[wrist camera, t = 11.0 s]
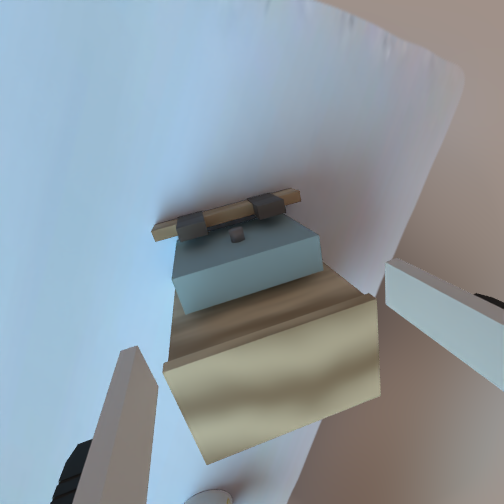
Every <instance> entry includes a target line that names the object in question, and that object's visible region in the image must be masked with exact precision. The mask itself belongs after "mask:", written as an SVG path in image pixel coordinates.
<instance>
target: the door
mask: <svg viewBox="0 0 504 504" xmlns="http://www.w3.org/2000/svg"><path fill="white" fill-rule="evenodd" d="M208 234H209V235H205V236H202V237H198V238H195V239H191V240H187V241H184V242H180V240H178V241H177V243H176V250H175V258H174V265H173V273H172V282H173V284H174V287H175V289H176V292H177V294H178V297H179V300H180V302H181V305H182V307H183V310H184V312H185V315H186V314H189V313H193V312H196V311H199V310H202V309H205V308H208V307H211V306H214V305H217V304H221V303H224V302H227V301H230V300H233V299H236V298H239V297H242V296H245V295H249V294H252V293H255V292H258V291H261V290H264V289H267V288H270V287H273V286H277V285H280V284H283V283H286V282H289V281H292V280H295V279H298V278H301V277H305V276H308V275H311V274H314V273H317V272H320V271H323V263H322V255H321V247H320V239H319V235H318V234H316V233H315V232H313V231H311V230H310V229H308V228H306V227H305V226H303V225H301V224H300V223H298V222H296V221H295V220H293V219H291V218H290V217H288V216H286V215H285V214H279V215H276V216H272V217H269V218H265V219H262V220H260V219H259V218H256V219H252V220H249V221H245V222H242V223H238V224H234V225H231V226H227V227H224V228H220V229H217V230H213V231H210V232H208Z"/></svg>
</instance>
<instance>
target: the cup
mask: <svg viewBox="0 0 504 504" xmlns="http://www.w3.org/2000/svg"><path fill="white" fill-rule="evenodd" d="M184 504H233V503H232V497H231V495H230V494H229V493H227V492H226V491H223V490H208V491H204V492H201V493H198V494H196V495H194V496H193V497H191V498H190V499H188V500H187V501H186V502H185V503H184Z"/></svg>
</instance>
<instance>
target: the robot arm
mask: <svg viewBox="0 0 504 504" xmlns="http://www.w3.org/2000/svg"><path fill="white" fill-rule="evenodd" d="M385 282H386V283H385V284H386V285H385V286H386V287H385V288H386V305H388V306H389V307H390V308H392V309H393V310H394V311H396V312H397V313H398V314H400V315H401V316H403V317H404V318H405V319H406V320H408V321H409V322H411V323H412V324H413V325H415V326H416V327H417V328H419V329H420V330H421V331H423V332H424V333H425V334H427V335H428V336H430V337H431V338H432V339H434V340H435V341H436V342H438V343H439V344H440V345H442V346H443V347H444V348H446V349H447V350H448V351H450V352H451V353H452V354H454V355H455V356H456V357H458V358H459V359H461V360H462V361H463V362H465V363H466V364H467V365H469V366H470V367H471V368H473V369H474V370H475V371H477V372H478V373H479V374H481V375H482V376H484V377H485V378H486V379H488V380H489V381H490V382H492V383H493V384H494V385H496V386H497V387H498V388H500V389H501V390H503V391H504V303H503V302H501V301H499V300H497V299H495V298H492V297H488V296H485V295H481V294H477V293H476V294H471V293H469V292H467V291H465V290H463V289H461V288H459V287H457V286H454V285H452V284H450V283H448V282H446V281H444V280H442V279H440V278H438V277H436V276H434V275H431V274H430V273H428V272H426V271H423V270H421V269H419V268H417V267H415V266H413V265H411V264H409V263H407V262H405V261H403V260H401V259H399V258H396V259H393V260H390V261H387V262H385ZM157 396H158V385H157V383H156V381H155V379H154V377H153V375H152V373H151V371H150V369H149V367H148V365H147V363H146V361H145V359H144V357H143V355H142V353H141V351H140V349H139V347H138V346H134V347H131V348H128V349H125V350H122V351H120V354H119V358H118V361H117V364H116V367H115V370H114V373H113V376H112V380H111V383H110V386H109V389H108V392H107V395H106V399H105V402H104V405H103V408H102V411H101V414H100V417H99V421H98V424H97V427H96V430H95V433H94V436H93V439H91V440H88V441H85V442H83V443H80V444H78V445H77V447H76V448H75V450H74V451H73V453H72V454H71V456H70V457H69V459H68V460H67V462H66V463H65V466H64V469H63V471H62V474H61V476H60V479H59V485H57V487H56V490H55V492H54V495H53V497H52V498H53V501H52V502H51V503H50V504H146V500H147V491H148V481H149V472H150V462H151V453H152V443H153V434H154V424H155V415H156V405H157Z"/></svg>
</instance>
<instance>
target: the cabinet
mask: <svg viewBox="0 0 504 504" xmlns="http://www.w3.org/2000/svg"><path fill="white" fill-rule="evenodd" d="M300 201H301V197H300V191H298V190H295V189H292V188H289V189H285V190H282V191H278V192H274V193H267V194H263V195H259V196H256V197H252V198H248V199H247V200H245V201H241V202H237V203H233V204H230V205H226V206H222V207H219V208H215V209H211V210H208V211H204V212H202V211H200V212H196V213H193V214H189V215H185V216H181V217H178V219H174V220H171V221H167V222H163V223H159V224H156V225H154V227H153V229H152V231H151V232H152V235H153V237H154V240H155V242H157V241H160V240H164V239H167V238H171V237H175V236H178V237H179V239H180V242H184V241H187V240H191V239H195V238H198V237H202V236H205V235H209V234H208V230H207V227H210V226H214V225H218V224H221V223H225V222H228V221H232V220H235V219H239V218H243V217H246V216H250V215H253V214H254V215H255V216H256V217H257V218H259V219H260V220H262V219H265V218H269V217H272V216H276V215H279V214H283V213H286V209H285V206H286V205H289V204H293V203H296V202H300ZM322 263H323V262H322ZM162 373H163V375H164V377H165V379H166V381H167V383H168V385H169V387H170V390H171V392H172V394H173V396H174V398H175V400H176V402H177V404H178V406H179V408H180V410H181V412H182V415H183V417H184V419H185V421H186V423H187V425H188V427H189V429H190V431H191V433H192V435H193V437H194V440H195V442H196V444H197V446H198V448H199V450H200V452H201V454H202V456H203V458H204V460H205V462H206V464H207V465H209V464H211V463H214V462H216V461H219V460H221V459H224V458H226V457H229V456H231V455H234V454H236V453H239V452H241V451H244V450H246V449H249V448H251V447H254V446H256V445H259V444H261V443H264V442H266V441H269V440H271V439H274V438H276V437H279V436H281V435H284V434H286V433H289V432H291V431H294V430H296V429H299V428H301V427H304V426H306V425H309V424H311V423H314V422H316V421H319V420H321V419H324V418H326V417H329V416H331V415H334V414H336V413H339V412H341V411H344V410H346V409H349V408H351V407H354V406H356V405H359V404H361V403H363V402H366V401H368V400H371V399H374V398H376V397H378V396H380V395H381V394H380V370H379V345H378V321H377V299H376V298H375V297H373V296H372V295H371V294H369V293H368V294H365V295H364V294H363V293H362V292H360V291H359V290H358V289H356V288H355V287H354V286H353V285H351V284H350V283H349V282H347V281H346V280H345V279H344V278H342V277H341V276H340V275H339V274H337V273H336V272H335V271H333V270H332V269H331V268H330V267H328V266H327V265H326V264H324V263H323V271H320V272H317V273H314V274H311V275H308V276H305V277H301V278H298V279H295V280H292V281H289V282H286V283H283V284H280V285H277V286H273V287H270V288H267V289H264V290H261V291H258V292H255V293H252V294H249V295H245V296H242V297H239V298H236V299H233V300H230V301H227V302H224V303H221V304H217V305H214V306H211V307H208V308H205V309H202V310H199V311H196V312H193V313H189V314H186V315H185V312H184V310H183V307H182V305H181V302H180V300H179V297H178V294H177V292H176V289H175V296H174V306H173V317H172V327H171V337H170V347H169V358H168V362H165V363H164V364H163V372H162Z"/></svg>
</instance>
